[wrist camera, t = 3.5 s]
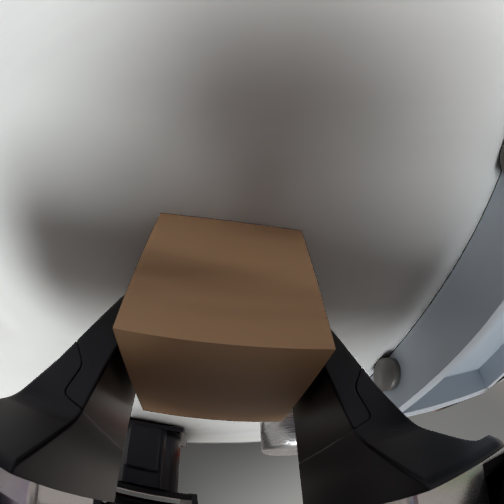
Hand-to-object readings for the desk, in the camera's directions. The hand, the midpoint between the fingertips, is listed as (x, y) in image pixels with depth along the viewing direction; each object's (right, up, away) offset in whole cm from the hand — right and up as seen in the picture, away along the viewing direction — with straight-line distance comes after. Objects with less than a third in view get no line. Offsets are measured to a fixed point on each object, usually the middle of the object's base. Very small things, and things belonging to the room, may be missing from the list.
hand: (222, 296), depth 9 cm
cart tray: (+16, 0, +2) cm, 16 cm away
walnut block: (0, +1, +1) cm, 1 cm away
